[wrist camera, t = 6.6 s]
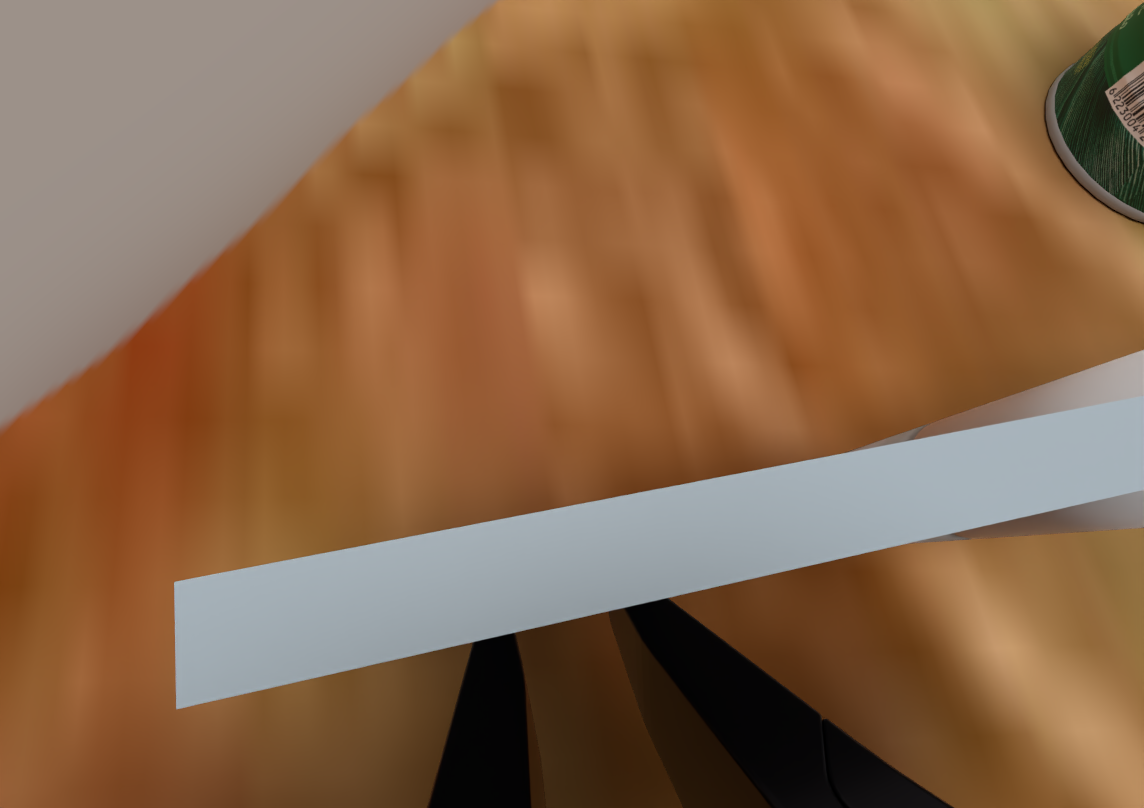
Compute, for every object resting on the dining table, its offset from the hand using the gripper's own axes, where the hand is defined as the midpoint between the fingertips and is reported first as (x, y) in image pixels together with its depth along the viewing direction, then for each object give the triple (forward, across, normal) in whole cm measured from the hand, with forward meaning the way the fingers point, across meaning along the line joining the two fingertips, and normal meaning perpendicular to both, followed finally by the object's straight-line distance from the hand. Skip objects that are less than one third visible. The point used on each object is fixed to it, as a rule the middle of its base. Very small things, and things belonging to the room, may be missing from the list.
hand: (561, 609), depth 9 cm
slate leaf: (+5, -3, +4) cm, 7 cm away
